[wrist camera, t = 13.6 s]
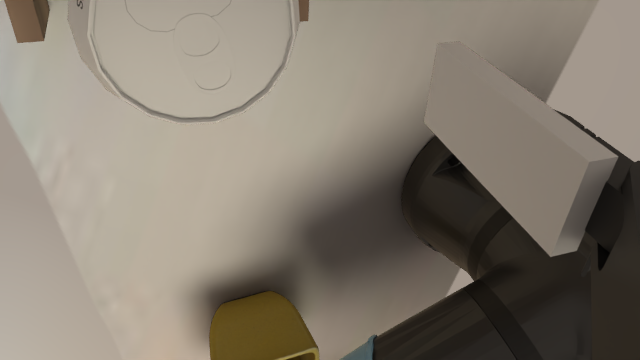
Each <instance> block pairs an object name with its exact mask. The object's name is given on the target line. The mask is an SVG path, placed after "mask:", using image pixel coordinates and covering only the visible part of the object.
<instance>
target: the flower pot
mask: <svg viewBox="0 0 640 360" xmlns="http://www.w3.org/2000/svg"><path fill="white" fill-rule="evenodd" d="M209 340H210V359H211V360H319V349H318V347H317V345H316V343H315V341H314V339H313V337H312V336H311V334H310V332H309V330H308V328H307V326H306V324H305V323H304V321H303V319H302V317H301V315H300V314H299V312H298V310H297V309H296V308H295V306H294V305H293V304H292V303H291V302H290V301H289V300H287V299H286V298H285V297H283V296H282V295H280V294H278V293H275V292H273V291H267V292H263V293H259V294H256V295H252V296H249V297H245V298H241V299H237V300H234V301H230V302H226V303H224V304H221V305H220V307H219V308H218V310H217V311H216V313H215V315H214V317H213V320H212V323H211V327H210V336H209Z"/></svg>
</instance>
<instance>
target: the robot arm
mask: <svg viewBox="0 0 640 360" xmlns="http://www.w3.org/2000/svg"><path fill="white" fill-rule="evenodd" d="M424 123H425V124H426V125H427V126H428V128H429V129H430V130H431V131H432V132H433V133H434V134H435V135H436V137H434V138H433V139H432V140H431V141H430V142H429V143H428V144H427V146H426V147H425V148H424V149H423V150H422V151H421V153H420V154H419V155H418V157H417V158H416V160H415V161H414V163H413V165H412V166H411V168H410V170H409V172H408V174H407V177H406V180H405V183H404V186H403V191H402V210H403V214H404V216H405V219H406V221H407V222H408V224H409V225H410V226H411V228H412V229H413V231H414V232H415V234H416V235H417V236H418V238H419V239H420V240H421V241H422V242H423V243H424V244H426V245H427V246H428V247H430V248H432V249H433V250H435V251H438V252H440V253H442V254H443V255H444V256H446V257H447V258H448V259H450V260H451V261H452V262H454V263H455V264H456V265H458V266H459V267H461V268H462V269H464V270H465V271H466V272H467V273H468V274H469V275H470V276H471V278H472V279H473V280H474V282H473V283H471V284H469V285H467V286H466V287H464V288H461V289H460V290H458V291H456V292H454V293H453V294H451V295H449V296H447V297H446V298H444V299H442V300H440V301H439V302H437V303H435V304H433V305H432V306H430V307H428V308H426V309H425V310H423V311H421V312H419V313H418V314H416V315H414V316H412V317H411V318H409V319H407V320H405V321H404V322H402V323H400V324H398V325H397V326H395V327H393V328H391V329H390V330H388V331H386V332H384V333H383V334H381V335H379V336H377V335H373V336H371V337H370V338H369V339H368V342H366V343H365V344H363V345H362V346H360V347H359V348H357V349H356V350H354V351H352V352H351V353H349V354H348V355H346V356H345V357H343V358H341V359H340V360H640V161H637V162H633V161H632V160H630V159H629V158H628V157H626V156H625V155H623V154H622V153H620V152H619V151H618V150H616V149H615V148H613V147H612V146H611V145H609V144H608V143H607V142H605V141H604V140H602V139H601V138H600V137H596V135H595V134H594V133H592V132H591V131H590V130H588V129H585V128H584V126H583V125H581V124H580V123H579V122H577V121H576V120H574V119H573V118H572V117H570V116H568V115H565V114H563V113H561V112H559V111H556V110H554V109H551V107H549V106H548V105H547V104H545V103H544V102H542V101H541V100H540V99H538V98H537V97H536V96H534V95H533V94H531V93H530V92H529V91H527V90H526V89H525V88H523V87H522V86H520V85H519V84H518V83H516V82H515V81H513V80H512V79H511V78H509V77H508V76H507V75H505V74H504V73H502V72H501V71H500V70H498V69H497V68H496V67H494V66H493V65H491V64H490V63H489V62H487V61H486V60H485V59H483V58H482V57H480V56H479V55H478V54H476V53H475V52H474V51H472V50H471V49H469V48H468V47H467V46H465V45H464V44H463V43H461V42H449V43H438V45H437V50H436V56H435V61H434V67H433V73H432V78H431V84H430V90H429V95H428V101H427V106H426V112H425V118H424Z"/></svg>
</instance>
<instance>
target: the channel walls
mask: <svg viewBox="0 0 640 360" xmlns="http://www.w3.org/2000/svg"><path fill="white" fill-rule="evenodd" d="M4 1H5V4H6V7H7V10H8V13H9V17H10V20H11V23H12V26H13V30H14V33H15V36H16V39H17V43H23V42H36V41H44V38H45V32H46V27H47V22H48V16H49V11H50V10H49V6H48V2H47V0H4ZM298 1H299V18H300V21H308V12H309V0H298Z"/></svg>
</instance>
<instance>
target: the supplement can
mask: <svg viewBox="0 0 640 360" xmlns="http://www.w3.org/2000/svg"><path fill="white" fill-rule="evenodd" d="M68 22H69V25H70V28H71V31H72V34H73V36H74V39H75V42H76V45H77V48H78V51H79V54H80V57H81V59H82V60H83V61H84V63H85V64H86V65H87V66H88V68H89V69H90V70H91V71H92V73H93V74H94V75H95V76H96V78H97V79H98V80H99V81H100V82H101V84H102V85H103V86H104V87H105V89H106V90H108V91H109V92H111V93H113V94H114V95H116V96H117V97H119V98H120V99H122V100H124V101H125V102H127V103H128V104H130V105H132V106H133V107H135V108H136V109H138V110H140V111H141V112H143V113H144V114H146V115H148V116H149V117H153V118H156V119H160V120H164V121H168V122H172V123H176V124H180V125H192V124H212V123H217V122H220V121H222V120H225V119H228V118H231V117H233V116H236V115H239V114H242V113H244V112H246V111H247V110H248V109H250V108H251V107H252V106H253V105H255V104H256V103H257V102H259V101H260V100H261V99H263V98H264V97H265V96H267V95H268V94H269V93H270V92H271V90H272V89H273V87H274V86H275V84H276V83H277V81H278V80H279V78H280V77H281V76H282V74H283V73H284V71H285V70H286V68H287V66H288V62H289V59H290V55H291V52H292V48H293V45H294V41H295V38H296V34H297V31H298V27H299V23H300V18H299V1H298V0H69V1H68Z"/></svg>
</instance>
